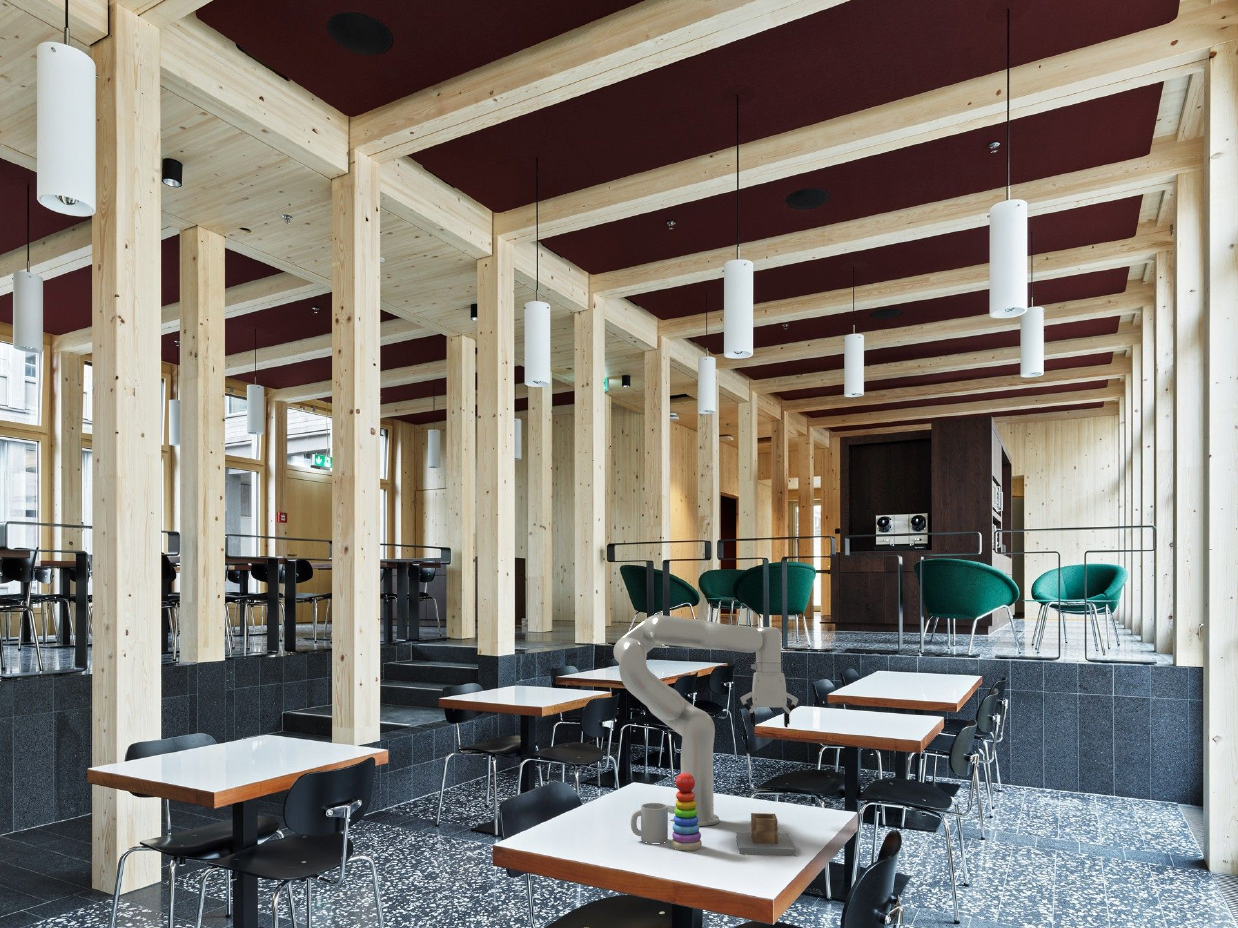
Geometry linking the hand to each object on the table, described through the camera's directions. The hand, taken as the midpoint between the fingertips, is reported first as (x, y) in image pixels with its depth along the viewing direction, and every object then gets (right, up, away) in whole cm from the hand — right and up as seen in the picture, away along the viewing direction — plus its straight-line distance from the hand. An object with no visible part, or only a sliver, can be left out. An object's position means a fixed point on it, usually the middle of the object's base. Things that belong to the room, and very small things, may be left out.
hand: (769, 726), depth 260 cm
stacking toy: (-28, -21, -34) cm, 49 cm away
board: (-7, -21, -33) cm, 40 cm away
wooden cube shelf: (-7, -20, -33) cm, 39 cm away
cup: (-37, -22, -29) cm, 52 cm away
